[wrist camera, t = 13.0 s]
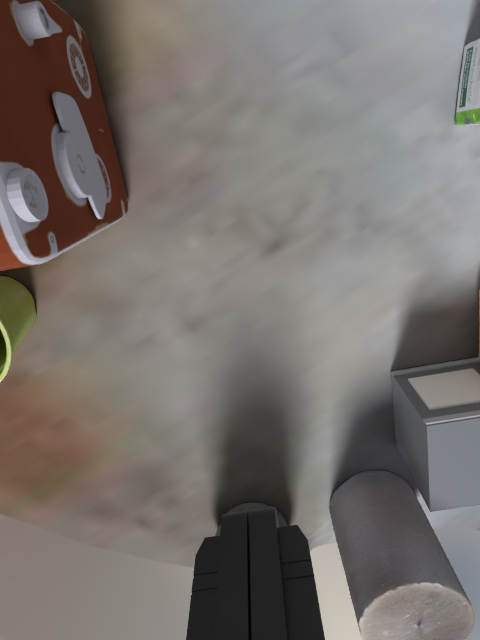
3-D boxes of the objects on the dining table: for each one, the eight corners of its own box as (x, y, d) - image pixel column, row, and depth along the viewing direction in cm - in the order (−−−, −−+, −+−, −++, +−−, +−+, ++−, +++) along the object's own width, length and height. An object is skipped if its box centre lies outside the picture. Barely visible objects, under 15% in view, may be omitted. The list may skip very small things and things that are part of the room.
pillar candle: (410, 533, 51) (476, 678, 36) (327, 537, 51) (360, 683, 37) (417, 466, 47) (493, 596, 33) (328, 470, 47) (365, 602, 33)
